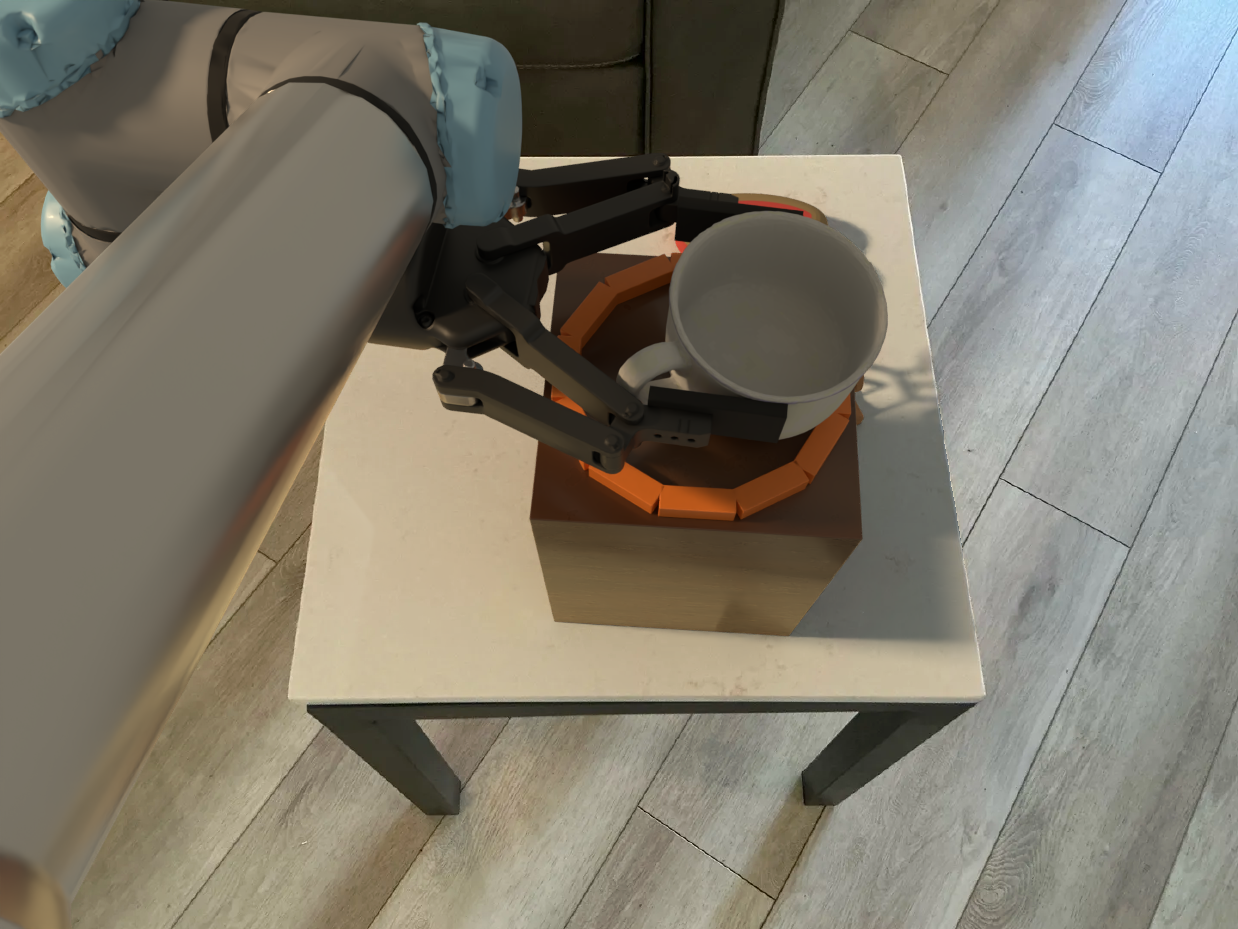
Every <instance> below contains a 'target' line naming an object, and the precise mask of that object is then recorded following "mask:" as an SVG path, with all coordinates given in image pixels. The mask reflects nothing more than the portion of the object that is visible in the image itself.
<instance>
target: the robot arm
mask: <svg viewBox="0 0 1238 929" xmlns="http://www.w3.org/2000/svg"><path fill="white" fill-rule="evenodd" d="M521 89H522V88H521V82H520V77H519V73H518V69H517V65H516V62H515V60H514V57H512V54H511V53H510V52H509V50H508V48H506V47H505V45H503V43H501V42H499V41H498V40H496V39H494V38H492V37H489V36H484V35H478V34H474V33H473V34H472V33H469V32H462V31H458V30H452V29H451V30H450V29H446V28H442V27H441V28H440V27H434V26H431V25H430V24H429V23H428V22H418V23H416V24H406V23H395V22H386V21H385V22H383V21H374V20H373V21H372V20H360V19H351V18H339V17H327V16H316V15H315V16H314V15H306V14H305V15H304V14H292V13H284V12H283V13H282V12H271V11H262V10H252V9H247V8H239V7H229V6H219V5H210V4H201V3H191V2H183V1H174V0H0V134H1V135H2V136H3V137H4V138H5V140H6V141H7V142H8V143H9V145H10V146H11V147H12V148H13V149H14V150H15V152H16V153H17V154H18V155H19V157H20V158H21V159H22V160H23V162H24V163H25V164H26V165H27V166H28V168H29V169H30V170H31V171H32V173H33V174H35V176H36V177H37V178H38V179H39V181H40V182H41V183H42V184H43V186H44V187H45V188H46V189H47V192H46V194H45V197H44V202H43V205H42V208H41V215H40V236H41V240H42V245H43V247H45V248H46V249H47V250H48V251H49V253H50V255H51V261H50V269H51V270H52V272H53V274H54V276H55V278H57V280H58V282H59V283H60V284H61V285H62V286H63V287H64V288H65V289H64V290H63V291H62V292H61V293H60V294H59V295H58V296H57V297H56V298H55V299H54V300H52V302H51V303H49V304H48V306H47V307H46V308H44V310H42V312H41V313H40V314H39V315H37V316H36V317H35V319H34V320H32V321H31V323H29V325H28V326H26V327H25V328H24V329H23V330H22V331H21V333H19V334H18V335H17V336H16V338H15V339H13V340H12V342H10V343H9V344H8V345H7V346H6V347H5V348H4V349H3V350H2V351H1V352H0V929H74V927H73V924H72V923H73V922H72V904H73V902H74V900H75V898H76V896H77V895H78V893H79V891H80V889H81V887H82V885H83V883H84V881H85V880H86V878H87V876H88V874H89V871H90V870H91V868H92V866H93V864H94V862H95V861H96V859H97V857H98V855H99V853H100V851H101V849H102V847H103V845H104V843H105V842H106V840H107V837H108V835H109V834H110V832H111V830H112V828H113V827H114V824H115V822H116V820H117V819H118V817H119V815H120V813H121V811H122V809H123V807H124V805H125V803H126V801H127V800H128V798H129V796H130V795H131V792H132V790H133V788H134V786H135V784H136V783H137V781H138V779H139V777H140V776H141V773H142V771H143V770H144V767H145V765H146V764H147V761H148V760H149V758H150V757H151V754H152V752H153V751H154V748H155V746H156V744H157V743H158V741H159V738H160V737H161V735H162V733H163V731H164V729H165V728H166V726H167V723H168V722H169V720H170V718H171V716H172V714H173V712H174V711H175V708H176V706H177V705H178V703H179V701H180V699H181V697H182V695H183V693H184V692H185V690H186V688H187V686H188V684H189V682H190V680H191V678H192V676H193V674H194V672H195V671H196V669H197V667H198V665H199V663H200V662H201V659H202V657H203V656H204V653H205V652H206V650H207V648H208V646H209V644H210V642H211V641H212V638H213V637H214V635H215V632H216V630H217V629H218V627H219V625H220V624H221V623H220V622H222V619H223V617H224V616H225V614H226V612H227V609H228V607H229V606H230V604H231V603H232V601H233V599H234V596H235V595H236V593H237V592H238V591H237V590H238V589H239V587H240V585H241V583H242V581H243V579H244V578H245V575H246V574H247V572H248V570H249V568H250V567H251V564H252V562H253V560H254V558H255V557H256V555H257V553H258V551H259V549H260V547H261V545H262V544H263V542H264V539H265V538H266V535H268V532H269V530H270V528H271V526H272V525H273V522H274V521H275V519H276V517H277V515H278V513H279V511H280V509H281V507H282V506H283V503H284V501H285V500H286V498H287V497H288V494H289V492H290V490H291V488H292V486H293V484H294V483H295V480H296V479H297V477H298V475H299V473H300V471H301V469H302V467H303V465H304V464H305V461H306V460H307V459H308V458H307V457H308V456H309V454H310V452H311V450H312V448H313V447H314V444H315V443H316V441H317V439H318V437H319V435H320V433H321V431H322V429H323V428H324V425H325V424H326V422H327V420H328V418H329V416H330V415H331V412H332V410H333V408H334V406H335V405H336V403H337V401H338V398H339V397H340V395H341V393H342V391H343V389H344V388H345V386H346V384H347V382H348V380H349V378H350V376H351V374H352V372H353V370H354V369H355V367H356V364H357V363H358V361H359V359H360V358H361V355H362V354H363V352H364V350H365V348H366V346H367V344H372V345H373V344H374V345H379V346H387V347H395V348H402V349H410V350H418V351H427V350H429V349H436V350H439V351H441V352H443V353H444V358H443V363H442V365H440V366H438V367H436V368H435V369H434V371H433V372H432V381H433V385H434V387H435V390H436V392H437V395H438V398H439V400H440V403H441V405H442V407H443V408H444V409H445V410H447V411H450V412H458V413H467V414H476V415H482V416H486V417H487V418H489V419H492V420H494V421H496V422H498V423H500V424H503V425H504V426H507V427H509V428H511V429H513V430H515V431H517V432H520V433H522V434H523V435H525V436H528V437H529V438H532V439H534V440H536V441H537V442H538V441H540V442H542V443H544V444H546V445H549V446H551V447H553V448H555V449H557V450H559V451H561V452H563V453H565V454H567V455H570V456H572V457H574V458H576V459H578V460H580V461H582V462H584V463H586V464H588V465H590V466H593V467H595V468H597V469H599V470H601V471H603V472H605V473H608V474H617V473H619V472H621V470H622V469H623V468H624V465H625V461H626V459H627V457H628V456H629V454H630V452H631V451H632V449H636V448H638V447H639V446H640V445H641V443H642V442H644V441H651V442H659V443H666V444H673V445H680V446H688V447H695V448H699V447H703V446H708V443H709V439H710V435H711V434H712V435H720V436H727V437H734V438H741V439H749V440H756V441H763V442H771V443H778V440H779V437H780V435H781V432H782V430H783V427H784V425H785V422H786V419H787V412H788V404H784V403H773V402H764V401H759V400H754V399H747V398H740V397H732V396H725V395H717V394H710V393H702V392H695V391H687V390H680V389H672V388H665V387H657V386H650V389H649V395H648V405H644V404H643V403H642V402H641V401H640V400H639V399H637V398H636V397H635V396H633V395H632V394H631V393H630V392H628V391H627V390H626V389H624V388H623V387H622V386H620V385H619V384H618V383H616V382H615V381H614V380H613V379H611V378H610V377H609V376H607V375H606V374H605V373H603V372H602V371H601V370H599V369H598V368H597V367H596V366H594V365H593V364H592V363H590V362H589V361H588V360H586V359H585V358H584V357H582V356H581V355H580V354H579V353H577V352H576V351H575V350H573V349H572V348H571V347H569V346H568V345H567V344H565V343H564V342H563V341H562V340H560V339H559V338H558V337H556V336H555V335H554V334H552V333H551V332H550V330H549V329H548V328H546V327H545V326H544V324H543V323H542V321H541V318H542V312H541V301H542V300H543V298H544V296H545V295H546V293H547V291H548V286H549V281H550V276H552V275H555V274H557V273H558V272H560V271H561V270H562V269H563V268H564V267H565V265H566V264H568V263H570V262H572V261H575V260H578V259H581V258H584V257H586V256H589V255H592V254H595V253H601V252H603V251H605V250H608V249H612V248H615V247H617V246H620V245H622V244H625V243H627V242H631V241H634V240H637V239H639V238H642V237H644V236H647V235H648V236H649V235H651V234H653V233H656V232H659V231H661V230H664V229H667V228H669V227H671V226H673V225H675V228H674V229H675V230H674V242H675V241H682V242H691V241H692V240H693V239H694V238H696V237H697V236H698V235H699V234H700V233H702V232H704V231H705V230H706V229H708V228H710V227H712V226H713V224H715V223H718V222H720V221H722V220H723V219H726V218H729V217H732V216H735V215H740V214H744V213H748V212H760V211H774V212H776V211H780V212H786V213H792V214H798V215H801V216H803V212H804V211H799V210H791V209H783V208H774V207H766V206H758V205H750V204H741V203H738V201H739V198H738V197H736V196H734V195H732V194H733V193H728V192H718V191H710V190H703V189H694V188H686V187H682V186H680V182H681V177H680V174H679V173H678V172H677V171H675V170H673V169H672V167H671V166H672V162H671V161H672V159H671V157H670V156H669V155H668V154H666V153H663V152H653V153H646V154H638V155H631V156H623V157H618V158H610V159H609V158H608V159H602V160H595V161H587V162H582V163H581V162H580V163H573V164H566V165H558V166H551V167H544V168H536V169H527V168H521V167H520V162H521V151H522V139H523V104H522V90H521ZM524 218H531V219H528V220H525V221H523V220H524ZM510 220H512V221H513V222H514V223H517V224H514V223H513V222H511V221H510ZM540 244H542V247H541V246H540ZM497 349H500V350H502V351H503V352H504V353H506V354H507V355H508V356H509V357H511V358H512V359H513V360H515V361H516V362H517V363H518V364H520V365H521V366H522V367H523V368H525V369H527V370H532V371H534V372H535V373H537V374H538V375H539V376H540V377H542V378H543V379H544V380H545V379H546V380H547V381H548V382H549V383H551V384H552V385H553V386H554V387H556V388H557V389H558V390H560V391H561V392H562V393H563V394H565V395H566V396H567V397H568V398H570V399H571V400H572V401H574V402H575V403H576V404H577V405H579V406H580V407H581V408H582V409H584V410H585V411H586V412H588V413H589V414H590V415H591V416H593V417H594V418H595V419H596V420H598V421H599V422H598V421H595V420H593V419H591V418H589V417H587V416H585V415H583V414H580V413H578V412H576V411H574V410H572V409H570V408H568V407H565V406H563V405H561V404H559V403H557V402H555V401H553V400H550V399H548V398H546V397H544V396H543V394H540V393H538V392H536V391H533V390H531V389H529V388H527V387H525V386H522V385H520V384H518V383H516V382H514V381H511V380H510V379H507V378H505V377H503V376H501V375H499V374H496V373H494V372H492V371H489V370H485V369H484V367H483V366H482V364H481V363H479V362H477V361H475V360H474V359H476V358H478V357H482V356H483V355H485V354H488V353H490V352H492V351H495V350H497Z"/></svg>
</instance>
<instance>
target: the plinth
mask: <svg viewBox="0 0 1238 929" xmlns="http://www.w3.org/2000/svg"><path fill="white" fill-rule="evenodd" d="M657 256H658V255H646V254H629V253H612V252H611V253H610V252H609V253H608V252H597V253H595V254H592V255H589V256H586V257H584V258H581V259H578V260H575V261H572V262H570V263H568V264H566V265H565V267H564V268H563V269H562V270H561V271H560V272H558V273H556V276H555V283H554V293H553V294H554V295H553V302H552V303H553V304H552V311H551V320H550V321H551V322H550V330H549V331H550V332H551V333H552V334H554V335H555V336H556V337H558V335H561V332H560V329H561V328H562V327H563V325H564V324H565V323H566V322H567V320H568V319H569V318H570V317H571V316H572V314H573V313H574V312H575V311H576V309H577V308H578V307H579V306H580V304H581V303H582V302H583V301H584V300H585V298H586V297H587V296H588V295H589V293H590V292H591V291H592V290H593V289H594V287H595V286H596V285H597V284H598V282H601V283H603V284H605V277H608V276H610V275H613V274H615V273H618V272H620V271H622V270H625V269H627V268H630V267H632V266H635V265H637V264H640V263H642V262H645V261H647V260H650V259H652V258H655V257H657ZM666 256H667V255H666ZM667 258H668V260H669V261H670V258H671V256H667ZM669 288H670V283H669V284H666V285H664V286H661V287H659V288H656V289H654V290H652V291H649V292H647V293H644V294H642V295H639V296H637V297H635V298H632V299H630V300H627V301H625V302H622V303H620V304H618V305H616V307H615V308H614V309H613V310H612V312H611V313H610V314H609V315H608V317H607V318H606V319H605V320H604V322H603V323H602V324H601V326H600V327H599V328H598V329H597V331H596V332H595V333H594V334H593V336H592V337H591V338H590V339H589V341H588V342H587V343H586V344H585V346H584V347H583V348H582V353H581V356H582V357H584V358H585V359H586V360H588V361H589V362H590V363H592V364H593V365H594V366H596V367H597V368H598V369H599V370H601V371H602V372H603V373H605V374H606V375H607V376H609V377H610V378H611V379H613V380H614V381H615V382H616V379H617V376H618V373H619V370H620V368H621V367H622V366H623V365H624V363H625V362H626V361H627V360H628V359H629V358H630V357H632V356H633V355H634V354H636V353H637V352H639V351H640V350H642V349H644V348H646V347H648V346H651V345H653V344H657V343H661V342H665V339H666V325H667V318H668V311H669ZM670 377H671V375H670V372H669V371H668V372H666V373H663V374H660V375H658V376H656V377H655V378H654V379H652V380H651V381H655V380H660V379H666V378H670ZM649 382H650V381H649ZM543 385H544V386H543V393H542V396H544V397H546V398H548V399H550V400H552V399H551V392H552V384H551V383H549V382H548V381H547V380H546V379H544V384H543ZM850 400H851V415H850V417H849V422H848V424H847V426H846V428H845V430H844V431H843V433H842V435H841V436H840V438H839V439H838V441H837V443H836V444H835V446H834V447H833V449H832V451H831V452H830V454H829V455H828V457H827V459H826V460H825V462H824V463H823V465H822V467H821V468H820V470H819V472H818V473H817V475H816V476H815V478H814V480H813V481H812V483H811V484H809V483H808V484H807V486H806V488H805V489H804V490H802V491H800V492H798V493H795V494H793V495H791V496H789V497H787V498H785V499H783V500H781V501H779V502H777V503H775V504H772V505H770V506H768V507H766V508H764V509H762V510H760V511H758V512H756V513H754V514H752V515H749V516H747V517H745V518H743V519H740V518H739V516H738V514H737V512H736V515H735V518H734V520H733V521H728V520H712V519H695V518H678V517H662V516H658V507H659V504H658V505H657V507H656V508H655V510H654V511H653V512H652V514H650V513H648V512H647V511H645V510H643V509H642V508H640V507H639V506H637V505H635V504H634V503H632V502H630V501H629V500H627V499H626V498H624V497H622V496H621V495H619V494H618V493H616V492H614V491H613V490H611V489H609V488H608V487H606V486H605V485H603V484H601V483H600V482H598V481H596V480H595V479H593V478H592V477H590V476H589V469H587V470H584V469H583V468H582V466H581V464H580V462H579V460H578V459H576V458H574V457H572V456H570V455H567V454H565V453H563V452H561V451H559V450H557V449H555V448H553V447H551V446H549V445H546V444H544V443H542V442H540V441H538V440H537V447H536V455H535V465H534V472H533V473H534V474H533V482H532V483H533V484H532V492H531V501H530V508H529V521H530V527H531V531H532V535H533V539H534V540H533V541H534V543H535V547H536V552H537V556H538V560H539V565H540V568H541V572H542V576H543V581H544V585H545V590H546V593H547V597H548V601H549V605H550V610H551V614H552V619H553V622H557V623H571V624H573V623H574V624H590V625H591V624H592V625H604V626H605V625H606V626H620V627H621V626H622V627H637V628H650V629H651V628H652V629H669V630H685V631H700V632H716V633H729V634H730V633H732V634H747V635H749V634H750V635H762V636H763V635H764V636H777V637H778V636H781V637H789V636H790V635H791V634H792V633H793V631H795V629H796V627H797V626H798V625H799V623H800V622H801V621H802V619H803V618H804V617H805V616H806V614H807V613H808V612H809V611H810V609H811V608H812V606H814V604H815V603H816V601H817V600H818V598H819V597H820V596H821V595H822V593H823V592H824V591H825V589H826V588H827V587H828V585H829V584H830V583H831V582H832V580H833V579H834V578H835V577H836V575H837V574H838V572H839V571H840V570H841V568H842V567H843V565H845V563H846V562H847V561H848V559H849V558H850V556H851V555H852V554H853V553H854V552H855V550H856V549H857V547H858V546H859V545H860V543H861V542H862V541H863V539H864V538H863V537H864V536H863V517H862V502H861V501H862V500H861V498H862V497H861V483H860V481H861V480H860V463H859V445H858V443H859V442H858V428H857V427H858V425H856V406H855V401H856V392H855V388H853V389H852V391H851V392H850ZM583 410H584V409H583ZM584 412H585V413H586V415H587V417H589V418H591V419H593V420H595V421H598V420H596V419H595V418H594V417H593V416H591V415H590V414H589V413H588V412H586V411H585V410H584ZM598 422H599V421H598ZM814 428H815V427H814ZM814 428H812V429H810V430H808V431H806V432H804V433H801V434H799V435H796V436H793V437H789V438H785V439H780V440H778V443H771V442H763V441H756V440H749V439H741V438H734V437H727V436H720V435H712V434H711V435H710V439H709V443H708V446H703V447H699V448H695V447H688V446H680V445H673V444H666V443H659V442H651V441H644V442H642V443H641V445H640V446H639V447H638V448H636V449H632V451H631V452H630V454H629V456H628V457H627V459H626V461H625V462H626V463H628V464H630V465H631V466H633V467H635V468H636V469H638V470H640V471H641V472H643V473H645V474H646V475H648V476H649V477H651V478H653V479H654V480H656V481H658V482H659V483H661V484H663V485H671V486H688V487H705V488H722V489H735V488H737V487H739V486H741V485H743V484H745V483H747V482H749V481H752V480H754V479H756V478H758V477H760V476H762V475H764V474H766V473H769V472H771V471H773V470H775V469H777V468H779V467H781V466H784V465H786V464H788V463H790V462H792V461H794V459H795V458H796V456H797V454H798V453H799V451H800V450H801V448H802V447H803V445H804V444H805V442H806V440H807V439H808V437H809V436H810V434H811V433H812V431H813V430H814Z"/></svg>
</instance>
